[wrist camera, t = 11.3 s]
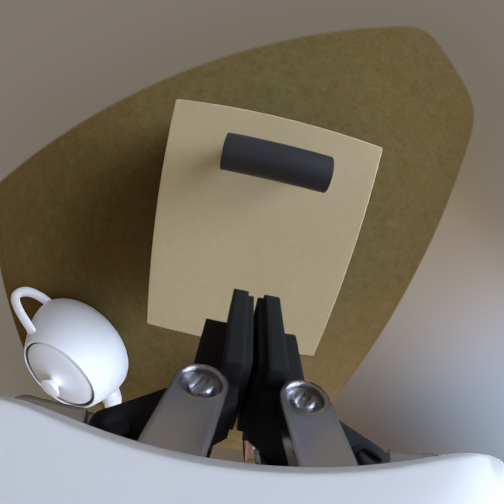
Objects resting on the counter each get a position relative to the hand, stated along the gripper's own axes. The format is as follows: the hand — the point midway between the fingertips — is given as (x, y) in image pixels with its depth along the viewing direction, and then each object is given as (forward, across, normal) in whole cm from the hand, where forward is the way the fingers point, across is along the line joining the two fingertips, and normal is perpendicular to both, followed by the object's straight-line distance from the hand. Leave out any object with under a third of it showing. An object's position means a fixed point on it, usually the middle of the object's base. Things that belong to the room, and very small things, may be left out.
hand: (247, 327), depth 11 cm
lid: (+9, 0, -1) cm, 9 cm away
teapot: (+18, +17, +20) cm, 32 cm away
